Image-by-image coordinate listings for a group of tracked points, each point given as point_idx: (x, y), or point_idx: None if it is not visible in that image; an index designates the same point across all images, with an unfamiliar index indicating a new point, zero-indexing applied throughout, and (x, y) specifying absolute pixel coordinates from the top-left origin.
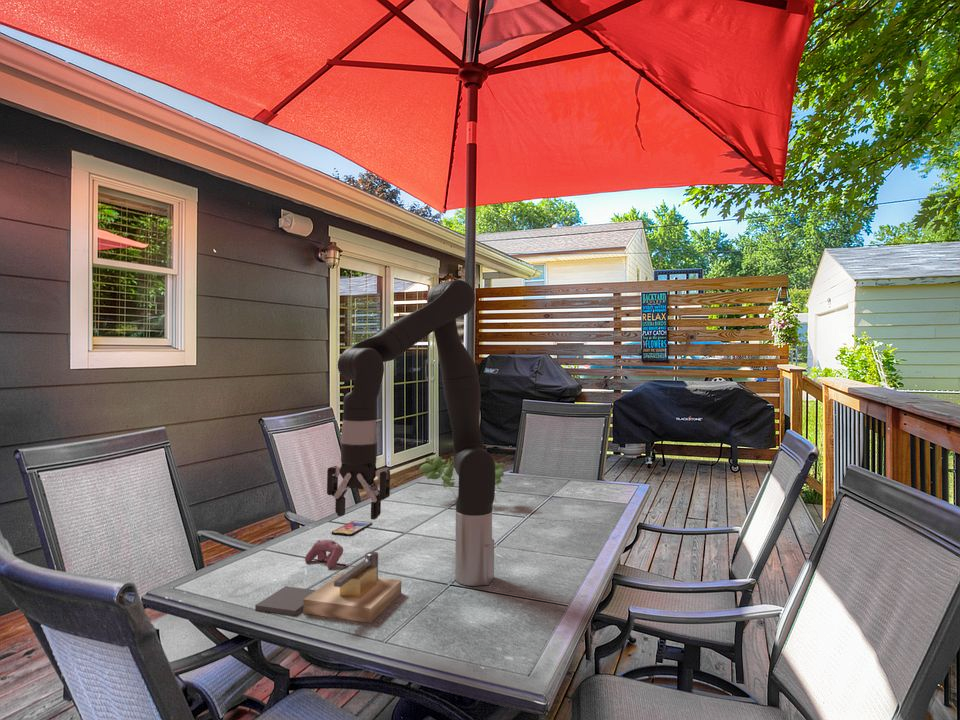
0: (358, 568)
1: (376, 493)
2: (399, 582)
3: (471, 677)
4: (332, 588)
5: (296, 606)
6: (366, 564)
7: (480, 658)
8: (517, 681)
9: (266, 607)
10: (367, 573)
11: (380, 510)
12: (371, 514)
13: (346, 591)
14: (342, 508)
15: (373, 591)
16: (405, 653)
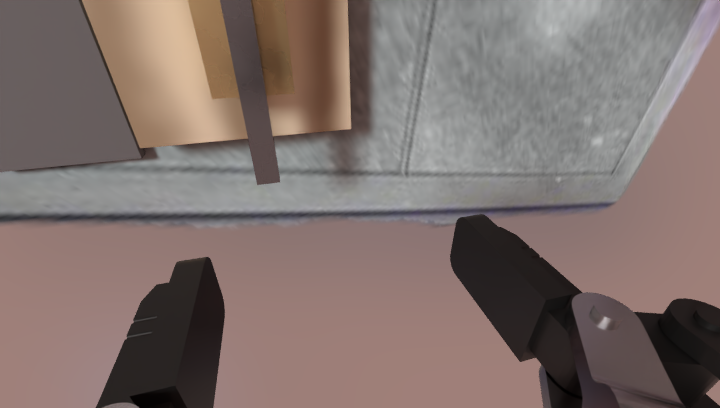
0: (254, 47)
1: (615, 372)
2: None
3: (543, 205)
4: (150, 40)
5: (117, 136)
6: None
7: (557, 159)
8: (596, 190)
9: (38, 167)
10: (282, 24)
11: (529, 248)
12: (469, 286)
13: None
14: (210, 327)
15: (299, 16)
16: (448, 191)
